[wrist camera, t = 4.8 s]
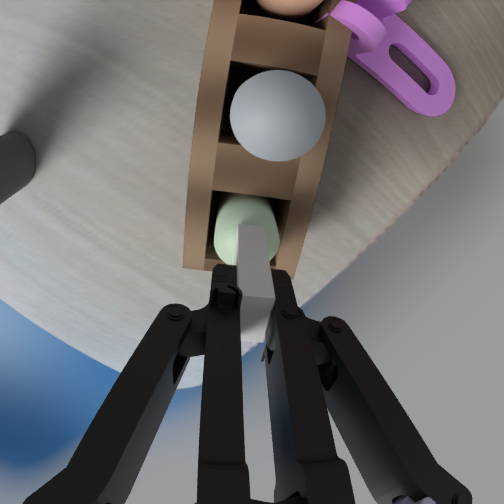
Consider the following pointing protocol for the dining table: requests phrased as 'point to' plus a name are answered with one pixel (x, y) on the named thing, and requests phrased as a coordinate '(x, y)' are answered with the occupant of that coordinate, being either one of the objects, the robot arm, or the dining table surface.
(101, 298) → the dining table surface
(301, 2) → the brown egg
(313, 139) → the grey rounded cylinder
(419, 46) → the bracket
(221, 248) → the green rounded cylinder
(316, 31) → the walnut rack
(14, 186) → the bottle
